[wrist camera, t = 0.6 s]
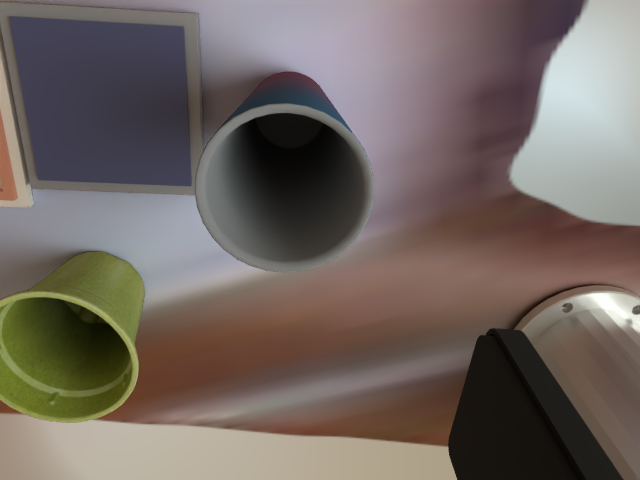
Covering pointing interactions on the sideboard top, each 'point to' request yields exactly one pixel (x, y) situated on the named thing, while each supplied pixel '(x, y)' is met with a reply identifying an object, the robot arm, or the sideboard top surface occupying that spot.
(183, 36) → the ink pad
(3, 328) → the plant pot
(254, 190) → the cup
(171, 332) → the sideboard top surface
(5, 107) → the cream flat square piece
